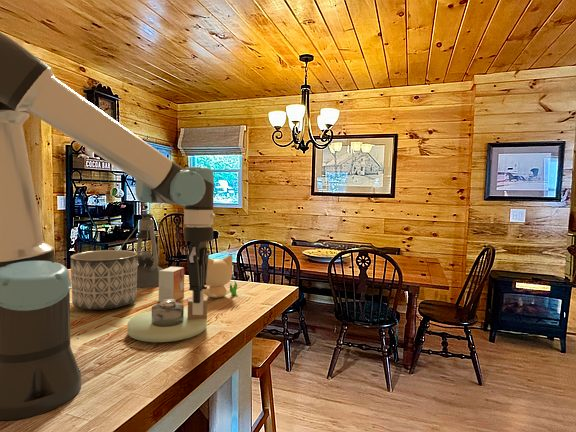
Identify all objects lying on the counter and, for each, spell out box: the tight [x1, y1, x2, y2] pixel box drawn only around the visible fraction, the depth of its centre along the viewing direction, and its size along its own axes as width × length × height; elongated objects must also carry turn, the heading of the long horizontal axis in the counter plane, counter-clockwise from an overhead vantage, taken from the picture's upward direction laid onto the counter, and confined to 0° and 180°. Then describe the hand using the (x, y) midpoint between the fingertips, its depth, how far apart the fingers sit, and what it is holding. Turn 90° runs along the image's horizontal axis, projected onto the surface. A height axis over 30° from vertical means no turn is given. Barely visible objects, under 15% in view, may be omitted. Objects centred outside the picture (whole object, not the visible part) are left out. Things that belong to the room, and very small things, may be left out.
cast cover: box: [151, 299, 185, 327], centre depth 97 cm, size 8×8×6 cm
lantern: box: [119, 211, 164, 289], centre depth 147 cm, size 18×20×30 cm
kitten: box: [202, 254, 238, 298], centre depth 132 cm, size 15×10×15 cm
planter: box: [70, 249, 138, 311], centre depth 119 cm, size 19×19×16 cm
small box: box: [158, 266, 185, 302], centre depth 128 cm, size 8×6×10 cm
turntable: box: [127, 297, 208, 343], centre depth 98 cm, size 20×20×7 cm
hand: (197, 314), depth 99 cm, fingers closed
